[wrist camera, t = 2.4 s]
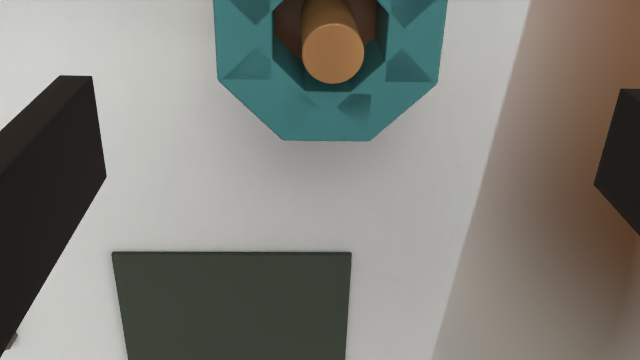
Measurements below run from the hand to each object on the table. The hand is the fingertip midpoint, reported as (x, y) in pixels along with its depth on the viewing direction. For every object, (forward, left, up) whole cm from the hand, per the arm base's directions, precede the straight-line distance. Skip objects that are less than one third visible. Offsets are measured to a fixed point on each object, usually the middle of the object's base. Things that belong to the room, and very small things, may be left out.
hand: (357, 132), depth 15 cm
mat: (+6, +29, -24) cm, 38 cm away
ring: (0, +1, -15) cm, 15 cm away
